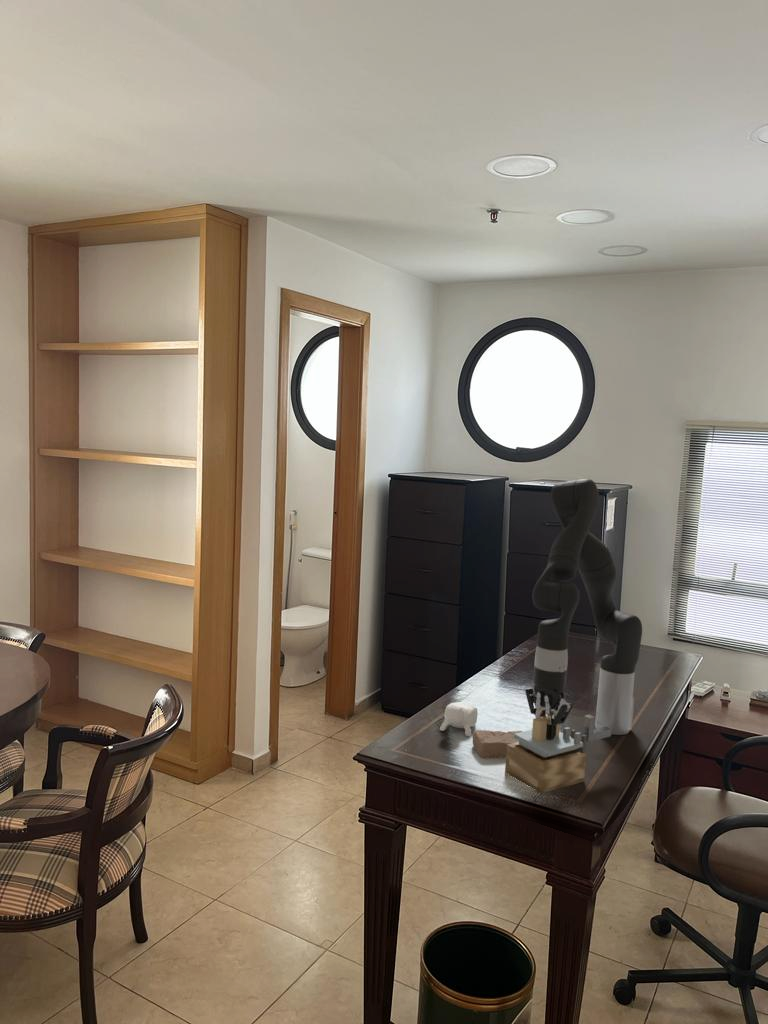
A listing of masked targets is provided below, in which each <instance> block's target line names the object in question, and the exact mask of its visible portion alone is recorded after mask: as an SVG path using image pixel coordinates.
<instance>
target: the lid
mask: <svg viewBox="0 0 768 1024" xmlns="http://www.w3.org/2000/svg"><path fill="white" fill-rule="evenodd" d="M547 724H548V721H547V715H546V716H543V717H539V718H536V717H535V718H533V719H532V729H529V730H525V731H524V732H520V733H516V734H514V738H515V739H517V740H519V744H520V745H522V746H524V747H526V748H527V749H529V750H531V751H533V752H535V753H537V754H539V755H541V756H543V757H549V756H553V755H557V754H560V753H564V752H568V751H571V750H575V749H577V748H580V747H583V742H581V738H582V732H577V731H576V733H574V738H573V737H570V735H571V727H567V726H566V727H563V731H562V732H561V730H560V726H561V724H557V727H556V736H555V737H554V739H550V740H548V739H546V732H547Z"/></svg>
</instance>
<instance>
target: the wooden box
mask: <svg viewBox="0 0 768 1024" xmlns="http://www.w3.org/2000/svg"><path fill="white" fill-rule="evenodd" d="M574 733H577V731H576V730H575V729H570V737H573V738H574ZM586 738H587V736H586V735H583V734H581V742H583V747H580V748H577V749H575V750H571V751H568V752H564V753H560V754H557V755H553V756H549V757H543V756H541V755H539V754H537V753H535V752H533V751H531V750H529V749H527V748H526V747H524V746H522V745H520V744H519V742H516V743H512V744H507V753H506V758H505V766H504V767H505V769H504V773H505V774H506V773H507V774H506V775H508V774H509V775H508V776H510V777H511V776H512V777H511V778H513V777H514V778H513V779H515V778H516V779H517V780H516V779H515V780H516V781H518V780H519V781H518V782H520V781H521V782H520V783H522V782H523V783H525V784H526V785H525V784H524V785H525V786H527V785H528V786H530V787H531V788H530V787H529V788H530V789H532V788H533V789H535V790H536V791H535V790H534V791H535V792H537V791H538V792H537V793H539V794H540V793H542V794H545V793H548V792H551V791H552V792H553V791H555V790H559V789H563V788H565V787H566V788H567V787H569V786H573V785H576V784H579V783H584V782H585V778H586V777H585V775H586V774H585V773H586V763H587V752H586V749H587V748H586V747H587V741H586ZM523 783H522V784H523ZM528 786H527V787H528ZM533 789H532V790H533Z"/></svg>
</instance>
